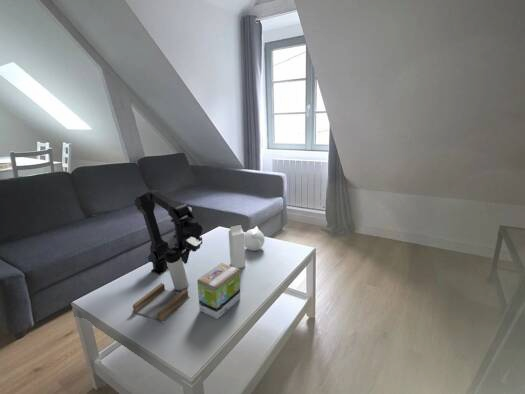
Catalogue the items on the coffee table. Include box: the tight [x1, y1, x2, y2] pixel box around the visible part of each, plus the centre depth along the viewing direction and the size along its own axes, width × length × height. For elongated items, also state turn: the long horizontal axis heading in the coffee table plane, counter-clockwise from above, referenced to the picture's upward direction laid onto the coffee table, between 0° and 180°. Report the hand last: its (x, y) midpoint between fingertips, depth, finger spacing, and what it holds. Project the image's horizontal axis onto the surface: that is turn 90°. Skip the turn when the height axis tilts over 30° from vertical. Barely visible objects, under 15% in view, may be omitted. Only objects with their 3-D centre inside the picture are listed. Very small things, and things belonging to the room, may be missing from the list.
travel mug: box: [165, 246, 190, 292], centre depth 124 cm, size 6×7×20 cm
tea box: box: [196, 262, 241, 320], centre depth 115 cm, size 15×10×15 cm
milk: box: [228, 224, 246, 269], centre depth 143 cm, size 6×6×22 cm
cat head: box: [244, 226, 265, 252], centre depth 161 cm, size 15×13×12 cm
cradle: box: [132, 282, 191, 323], centre depth 117 cm, size 16×16×3 cm
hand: (185, 263), depth 130 cm, fingers closed
